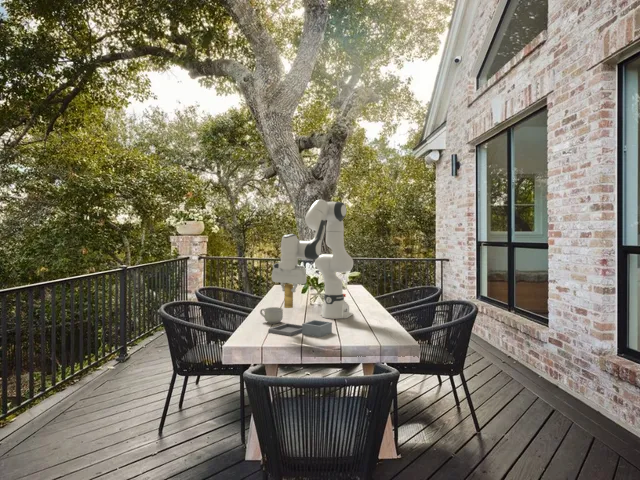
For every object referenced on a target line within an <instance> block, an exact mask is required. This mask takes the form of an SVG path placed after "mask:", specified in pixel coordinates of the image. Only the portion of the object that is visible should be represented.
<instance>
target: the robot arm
mask: <svg viewBox="0 0 640 480" xmlns="http://www.w3.org/2000/svg"><path fill="white" fill-rule="evenodd" d="M347 209H348V208H347V206H346V204H345V203H344V202H342V201H326V200H324V199H317V200H314V202H313V203H312V204H311V205H310V207H309V209H308V210H307V212H306V214H305V215H304V216H305V217H304V223H305V225H306V226H307V227H308V228H309V229H310V230H312V231H315V233H314V236H313V239H311V240H300V239H299V238H298V237H297V234H294V233H289V234H284V235H283V236H282V238H281V241H280V242H281V243H280V254H281V258H280V261H278V262H276V263H274V264H272V271H271V281H272V282H274V283H280V286H281V288H282V292H283V293H285V284H293V289H291V292H293V293H296V290H297V287H298V285H306V283H307V280H308V279H307V269H306V268H305V267H304V265H298V261H299V259H301V260H304V259H305V260H307V259H308V260H310V261H311V260H313V261H314V265H315V268H316V269H317V270H318V271H319V272H320V274H321V275H322V277H323V282H324V294H323V300H324V301H323V302H322V308H321V312H320V314H319V316H321V317H322V318H324V319H332V320H333V319H335V320H336V319H348V318H349V317H351V316H353V315H354V312H352V311H350V305H349V303H347V301H346V300H345V298H346V297H347V294H346V293H343V287H344V286H343V280H342V279H340V278H339V277H338V276H337V274H336V273H347V272H351V271H352V269H353V267H354V259H353V257H352V256H350V255H349V253H348V252H347V250H346V248H345V243H344V242H345V241H344V239H345V238H344V237H345V236H344V235H345V234H344V231H345V228H344V218H345V217H346V216H347V211H348V210H347ZM326 221H327V222H326ZM324 239H325V244H326V246H327V247H328V248H329V249H331V250H332V251H331V252H332V253H322V249H323V248H322V247H323V243H324Z"/></svg>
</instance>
